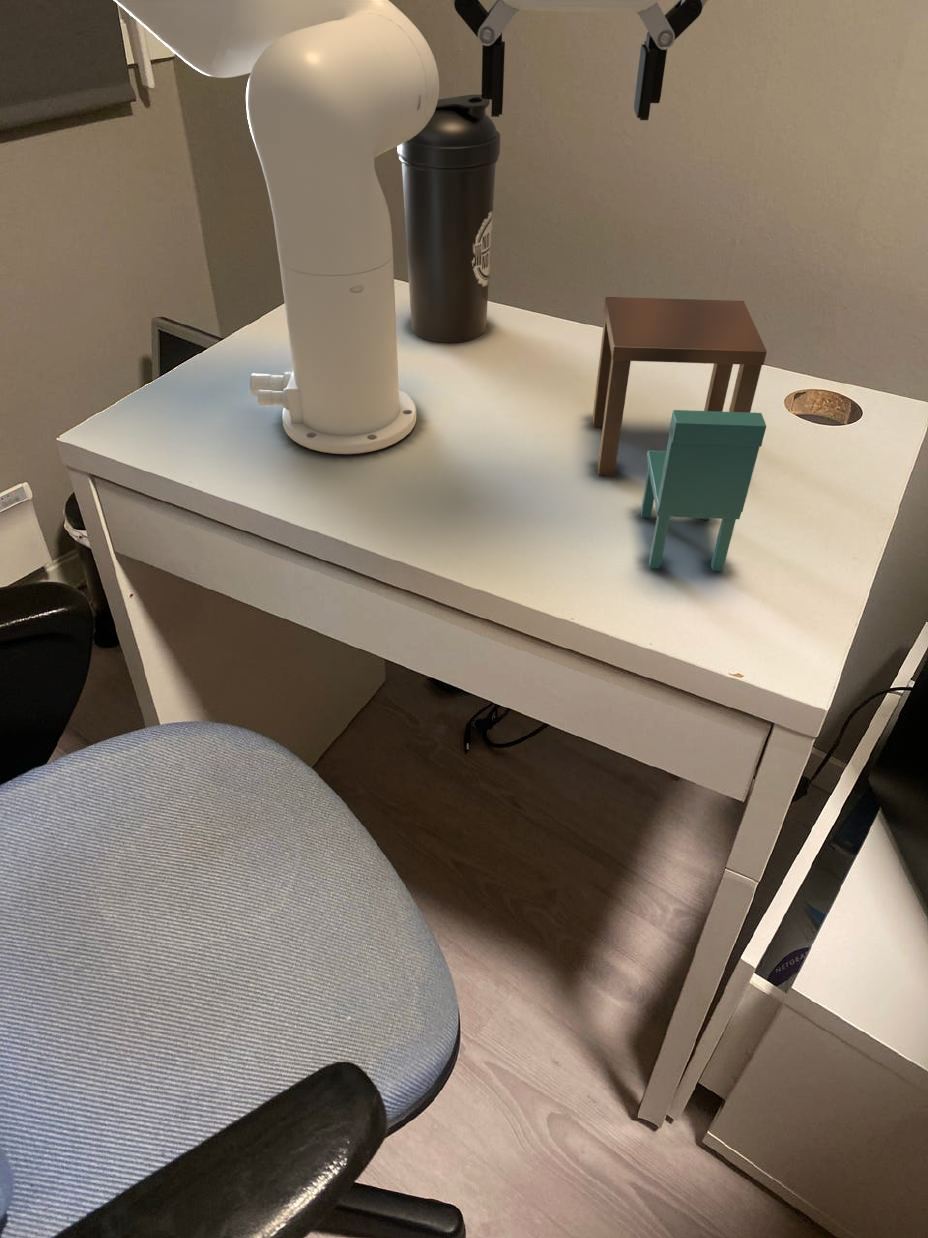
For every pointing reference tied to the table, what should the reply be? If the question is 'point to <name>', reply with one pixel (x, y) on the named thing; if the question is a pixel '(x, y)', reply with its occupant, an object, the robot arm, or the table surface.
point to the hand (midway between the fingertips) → (568, 113)
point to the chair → (702, 474)
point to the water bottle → (450, 219)
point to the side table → (673, 354)
